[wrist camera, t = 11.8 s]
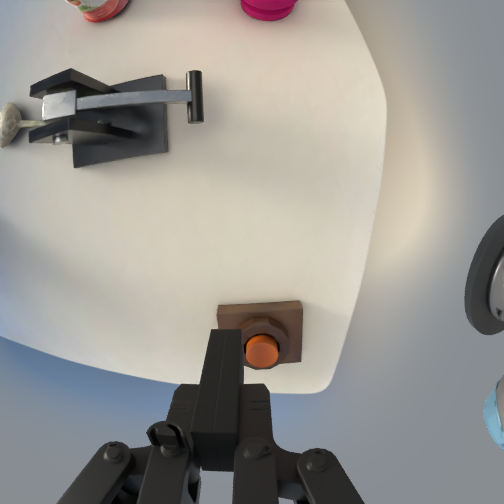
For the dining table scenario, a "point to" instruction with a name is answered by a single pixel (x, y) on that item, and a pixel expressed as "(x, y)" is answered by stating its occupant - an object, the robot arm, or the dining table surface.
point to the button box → (267, 326)
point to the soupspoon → (15, 123)
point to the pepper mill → (268, 8)
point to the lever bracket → (104, 120)
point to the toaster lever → (127, 101)
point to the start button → (261, 351)
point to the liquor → (98, 8)
